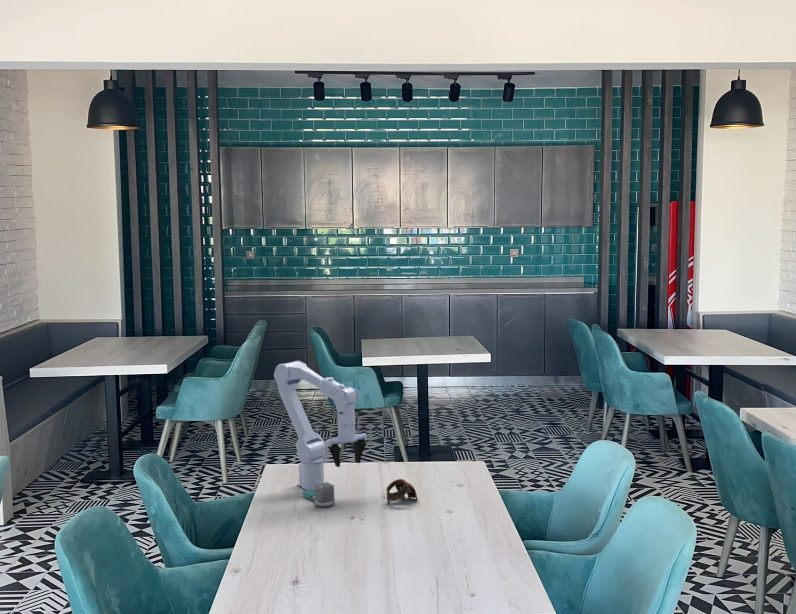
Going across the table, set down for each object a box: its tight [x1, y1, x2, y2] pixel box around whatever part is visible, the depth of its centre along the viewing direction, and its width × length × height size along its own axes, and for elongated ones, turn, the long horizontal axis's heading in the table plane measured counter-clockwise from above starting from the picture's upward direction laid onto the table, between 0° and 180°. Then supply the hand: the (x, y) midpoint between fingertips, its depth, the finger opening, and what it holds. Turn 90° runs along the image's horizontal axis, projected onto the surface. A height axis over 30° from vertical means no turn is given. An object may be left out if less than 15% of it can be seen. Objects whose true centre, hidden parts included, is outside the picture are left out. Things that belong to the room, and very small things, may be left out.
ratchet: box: [302, 489, 336, 509], centre depth 273 cm, size 16×6×4 cm, turn 32°
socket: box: [314, 481, 335, 503], centre depth 268 cm, size 4×4×5 cm
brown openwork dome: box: [386, 478, 419, 503], centre depth 271 cm, size 12×10×8 cm
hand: (347, 464), depth 279 cm, fingers open, 7 cm apart
